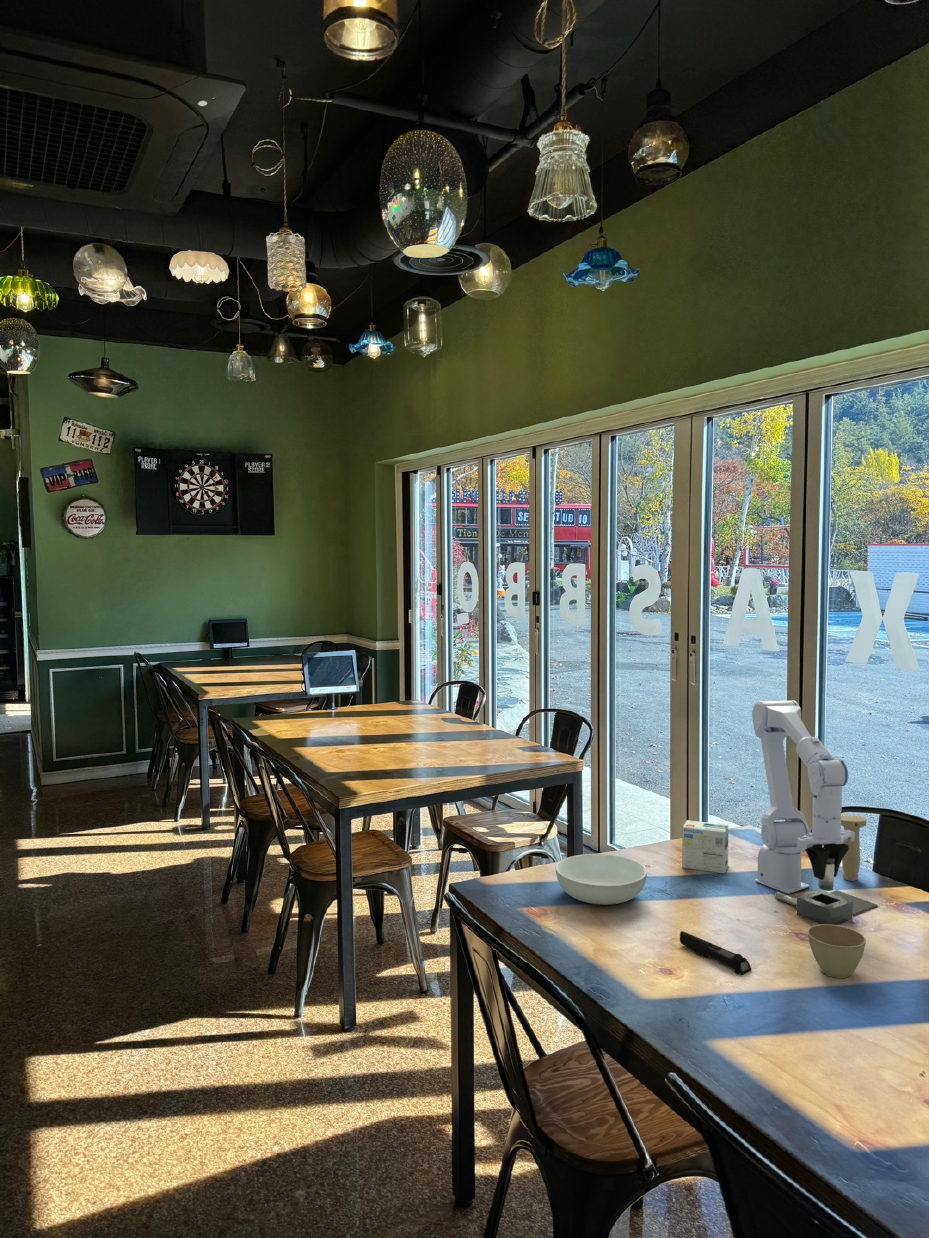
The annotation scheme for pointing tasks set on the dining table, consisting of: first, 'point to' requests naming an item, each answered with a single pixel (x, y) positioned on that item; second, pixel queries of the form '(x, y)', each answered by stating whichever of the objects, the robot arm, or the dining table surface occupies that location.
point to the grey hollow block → (821, 907)
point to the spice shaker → (828, 875)
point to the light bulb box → (705, 846)
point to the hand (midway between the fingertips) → (825, 876)
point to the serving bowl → (601, 878)
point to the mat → (856, 902)
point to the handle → (852, 846)
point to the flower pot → (836, 949)
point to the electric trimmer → (715, 953)
